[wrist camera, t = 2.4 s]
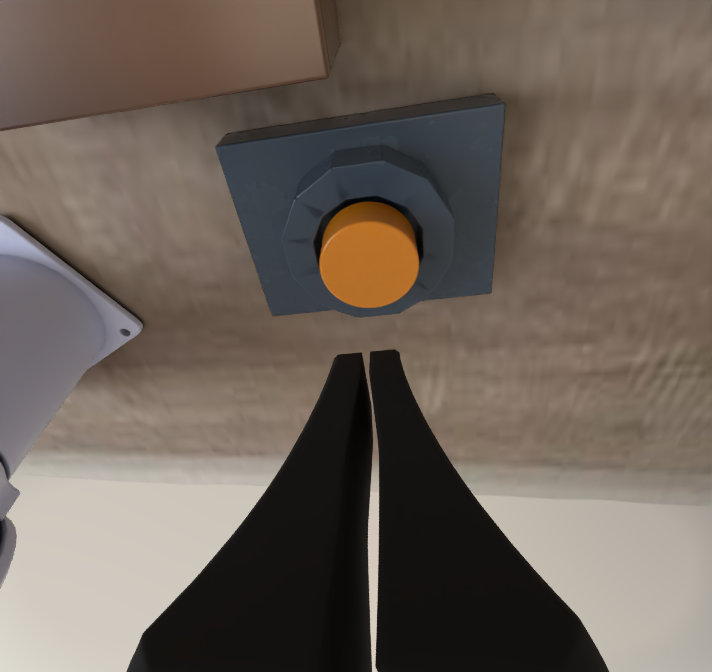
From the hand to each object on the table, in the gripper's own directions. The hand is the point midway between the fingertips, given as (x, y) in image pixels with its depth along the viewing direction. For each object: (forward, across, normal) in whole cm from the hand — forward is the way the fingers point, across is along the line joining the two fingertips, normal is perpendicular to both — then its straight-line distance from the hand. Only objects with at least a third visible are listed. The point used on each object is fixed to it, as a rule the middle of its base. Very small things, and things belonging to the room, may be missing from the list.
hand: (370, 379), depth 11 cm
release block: (+10, 0, 0) cm, 10 cm away
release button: (+7, 0, 0) cm, 7 cm away
